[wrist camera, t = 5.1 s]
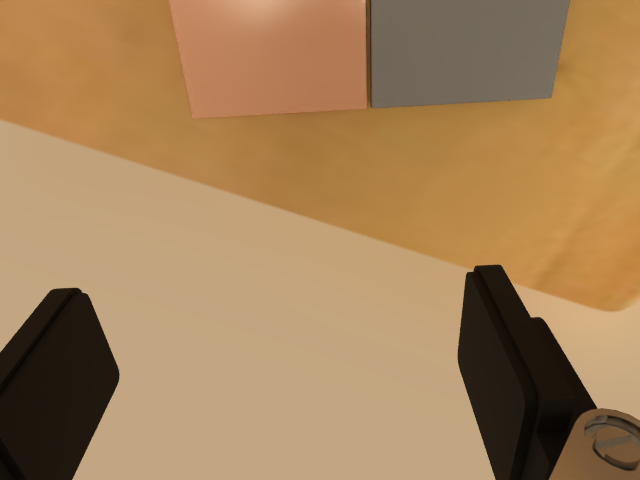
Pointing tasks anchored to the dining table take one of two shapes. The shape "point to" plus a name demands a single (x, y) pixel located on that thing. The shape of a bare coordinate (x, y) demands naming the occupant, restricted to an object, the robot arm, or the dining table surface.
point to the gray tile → (463, 50)
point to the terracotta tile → (271, 55)
